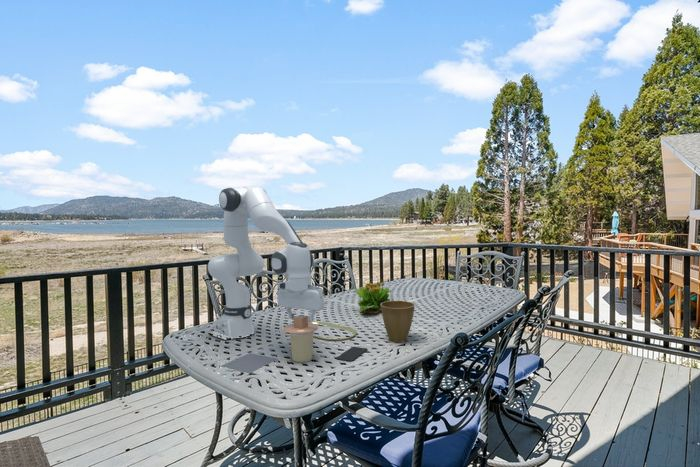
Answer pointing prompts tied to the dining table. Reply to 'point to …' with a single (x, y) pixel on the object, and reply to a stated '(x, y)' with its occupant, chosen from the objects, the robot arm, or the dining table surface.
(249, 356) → the mat
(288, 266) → the robot arm
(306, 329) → the lid
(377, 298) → the potted flower
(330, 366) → the dining table surface
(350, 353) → the phone
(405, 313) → the plant pot
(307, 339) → the coffee cup
